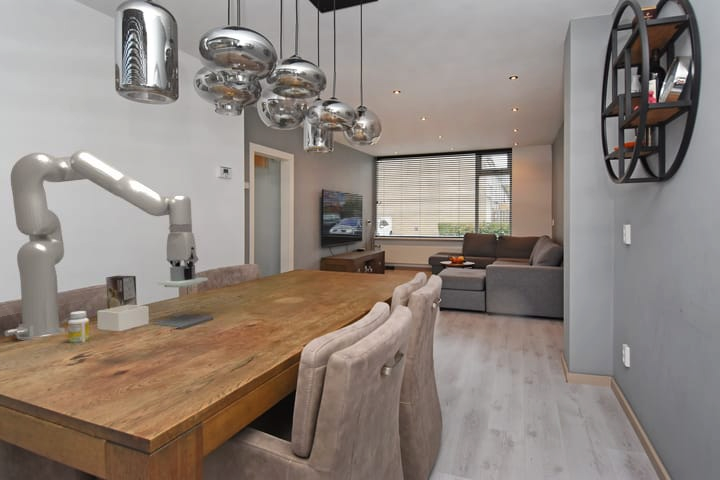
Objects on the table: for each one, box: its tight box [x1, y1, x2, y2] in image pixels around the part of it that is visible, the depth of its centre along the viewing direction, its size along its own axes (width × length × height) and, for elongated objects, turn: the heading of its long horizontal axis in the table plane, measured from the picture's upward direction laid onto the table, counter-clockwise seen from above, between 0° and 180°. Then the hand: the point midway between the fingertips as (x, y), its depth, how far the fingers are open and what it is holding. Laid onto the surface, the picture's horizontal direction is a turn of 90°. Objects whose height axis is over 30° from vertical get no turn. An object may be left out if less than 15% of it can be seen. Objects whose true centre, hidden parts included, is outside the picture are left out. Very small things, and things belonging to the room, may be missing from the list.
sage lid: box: [157, 264, 209, 289], centre depth 151 cm, size 13×11×7 cm
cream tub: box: [96, 304, 150, 332], centre depth 144 cm, size 12×10×7 cm
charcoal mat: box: [150, 313, 214, 331], centre depth 152 cm, size 16×14×1 cm
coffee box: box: [105, 275, 138, 309], centre depth 164 cm, size 9×6×16 cm
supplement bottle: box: [67, 310, 90, 344], centre depth 126 cm, size 5×5×10 cm
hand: (183, 278), depth 151 cm, fingers closed on sage lid, 4 cm apart
